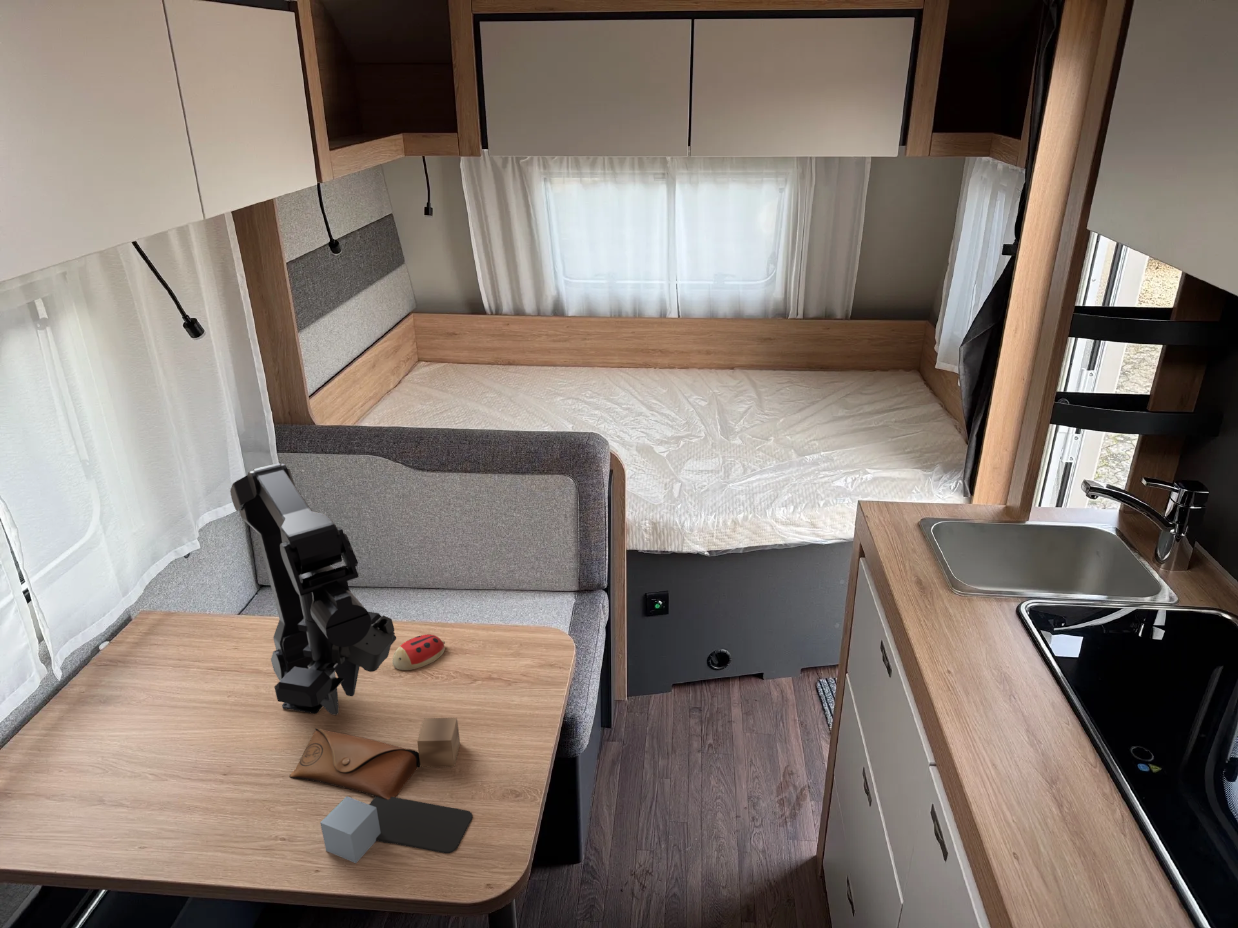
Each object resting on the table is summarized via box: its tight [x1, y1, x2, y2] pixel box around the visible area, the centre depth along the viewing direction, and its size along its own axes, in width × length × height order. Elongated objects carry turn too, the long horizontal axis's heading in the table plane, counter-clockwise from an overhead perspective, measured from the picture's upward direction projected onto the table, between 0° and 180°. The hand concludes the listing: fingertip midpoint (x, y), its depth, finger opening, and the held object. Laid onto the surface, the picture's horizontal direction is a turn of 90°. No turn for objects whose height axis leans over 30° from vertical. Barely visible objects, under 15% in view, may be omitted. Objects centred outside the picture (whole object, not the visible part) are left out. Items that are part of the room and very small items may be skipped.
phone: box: [369, 796, 473, 854], centre depth 116 cm, size 7×1×15 cm
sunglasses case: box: [289, 727, 421, 800], centre depth 125 cm, size 18×7×7 cm
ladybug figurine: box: [391, 633, 446, 671], centre depth 150 cm, size 7×10×4 cm
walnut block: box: [416, 717, 461, 768], centre depth 127 cm, size 5×5×5 cm
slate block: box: [319, 795, 381, 864], centre depth 112 cm, size 5×5×5 cm
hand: (342, 704), depth 121 cm, fingers open, 4 cm apart
